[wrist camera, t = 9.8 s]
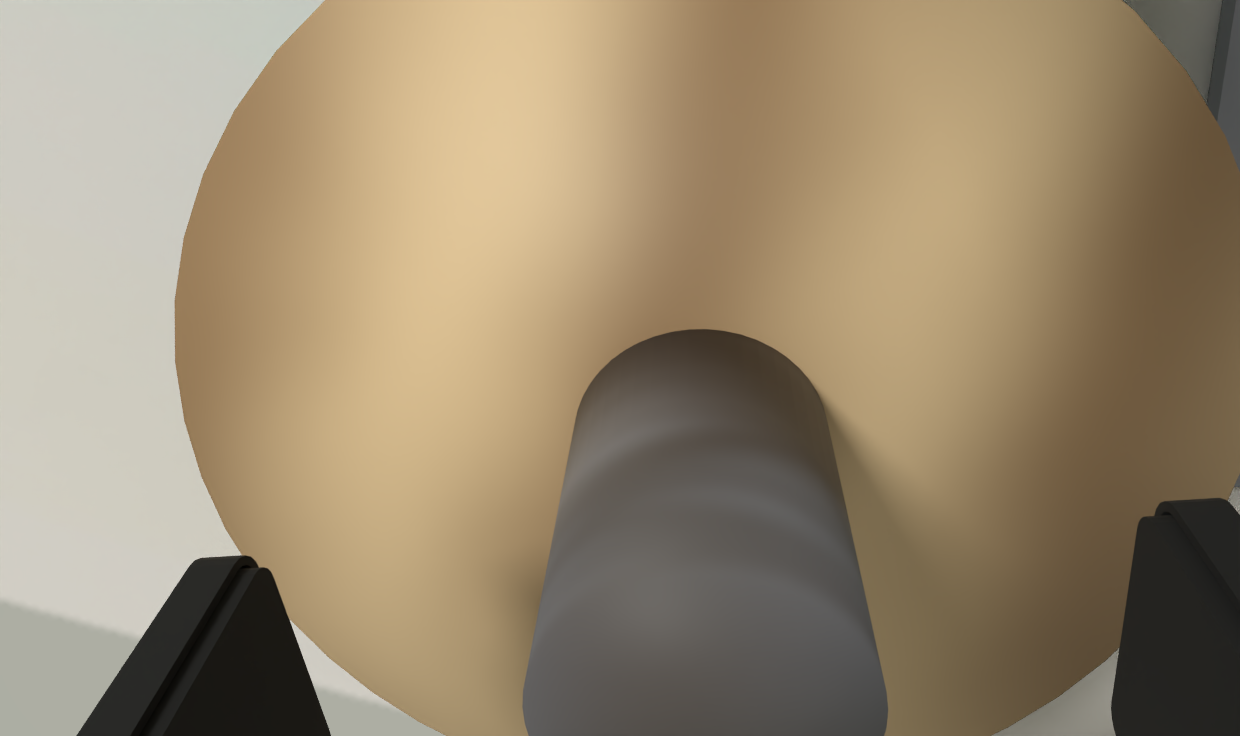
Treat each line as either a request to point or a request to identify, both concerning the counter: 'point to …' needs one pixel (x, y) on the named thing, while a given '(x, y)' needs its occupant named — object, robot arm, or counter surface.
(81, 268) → the counter surface
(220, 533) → the counter surface
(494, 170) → the lid
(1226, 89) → the mat
